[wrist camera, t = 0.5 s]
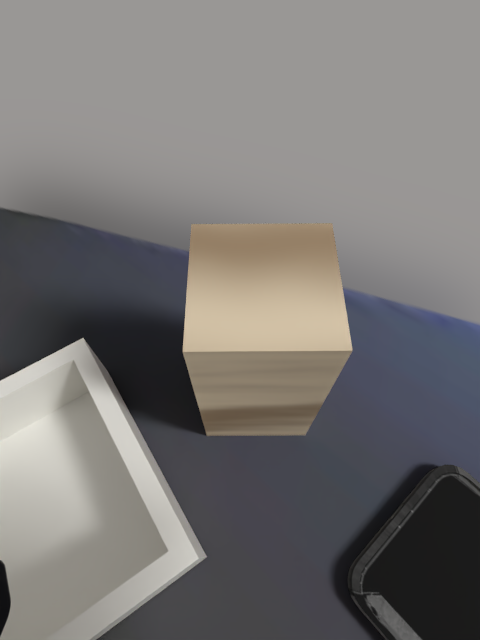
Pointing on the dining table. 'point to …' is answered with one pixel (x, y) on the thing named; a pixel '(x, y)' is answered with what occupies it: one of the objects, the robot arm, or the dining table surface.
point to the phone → (425, 563)
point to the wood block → (263, 325)
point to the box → (81, 503)
